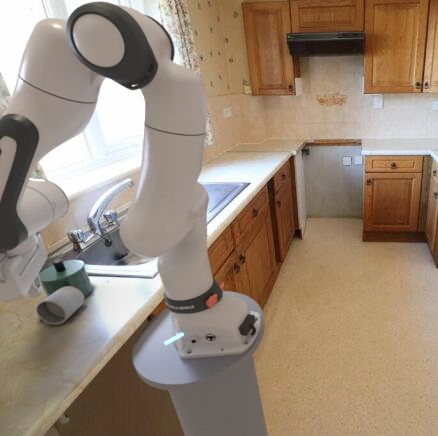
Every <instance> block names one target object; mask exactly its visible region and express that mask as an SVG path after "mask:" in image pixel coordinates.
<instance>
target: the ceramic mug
mask: <svg viewBox="0 0 438 436" xmlns="http://www.w3.org/2000/svg"><path fill="white" fill-rule="evenodd" d="M84 302H85V298H84V295H83V293H82V292H81V291H80V290H79V289H78V288H76V287H73V286H65V287H62V288H60V289H58V290H57V291H55V292H54V293H53V294H51V295H50V296H47V297H46V298H44V299H42V300H41V301H40V302H38V304H37V305H36V308H35V312H36V314H37V317H38V318H39V319H40V320H42V321H43V322H45V323H47V324H50V325H55V326H56V325H62V324H64V323H65V322H66V321H67V320H68V319H69V318H70V317H71V316H73V314H74V313H75V312H76V311H77V310H79V309H80V307H81V306H82V305H83V304H84Z"/></svg>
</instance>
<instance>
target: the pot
mask: <svg viewBox="0 0 438 436" xmlns="http://www.w3.org/2000/svg"><path fill="white" fill-rule="evenodd" d="M41 285H42V287H43V291H44V292H45V294H46V296H47V297H48V296H50V295H51V294H53V293H54V292H55V291H57V290H58V289H60V288H62V287H65V286H73V287H76V288H78V289H79V290H80V291H81V292H82V293H83V295H84V299H85V298H87V297H88V296H89V295H91V293H92V292H93V290H94V288H93V284H92V282H91V279H90V277H89V274H88V273H87V271H86V267H84V268H83V269H82V270H81V271H79V272H78V273H77V274H75V275H73V276H71V277H69V278H66V279H63V280H60V281H56V282H50V283H42V282H41Z"/></svg>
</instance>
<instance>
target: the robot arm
mask: <svg viewBox="0 0 438 436" xmlns="http://www.w3.org/2000/svg"><path fill="white" fill-rule="evenodd" d="M174 60H175V45H174V41H173V39H172V37H171V35H170V32H169V31H168V30H167V29H166V28H165V27H164V25H162V24H161V23H160V22H159V21H158V20H157V19H155V18H154V17H152V16H150V15H148V14H145V13H142V12H140V11H138V10H137V9H135V8H132V7H129V6H127V5H121V4H114V3H112V2H107V1H91V2H86V3H84V4H82V5H79V6H77V7H76V8H74V10H73V11H72V12H71V13H70V15H69V16H68V18H67V19H63V18H55V17H51V18H50V17H47V18H44V19H41V20H39V21H38V22H36V24H35V25H34V27H33V29H32V31H31V33H30V36H29V38H28V40H27V42H26V45H25V48H24V50H23V53H22V55H21V60H20V64H19V68H18V74H17V79H16V83H15V86H14V90H13V92H12V94H11V97H10V100H9V102H8V104H7V106H6V108H5V110H4V112H3V113H2V115H1V117H0V301H1V302H4V303H11V302H14V301H17V300H18V301H19V300H21V299H24V298H25V297H26V296H27V294H28V295H29V297H30V298H31V299H36V298H39V297H41V294H42V292H44V288H43V286H42V284H41V280H40V275H39V273H40V272H41V271H42V270H41V269H42V268H43V266H44V265H45V262H46V261H47V259H48V258H49V257H48V250H47V247H46V245H45V241H44V240H43V237H42V235H41V231H42V230H44V229H46V228H48V227H49V226H50V225H52V224H54V223H55V222H57V221H58V220H60V219H61V218H63V217H64V216H65V215H66V214H67V213H68V212H69V206H70V204H69V198H68V196H67V194H66V192H65V191H64V190H63V189H62V188H61V186H59V185H58V184H56V183H55V182H52V181H51V180H47V179H44V178H37V179H35V178H31V176H32V173H33V171H34V169H35V168H36V166H37V164H38V163H39V162H40V161H41V160H42V159H43V158H44V157H45V156H47V155H48V154H49V153H50V152H52V151H53V150H55V149H56V148H58V147H59V146H61V145H63V144H65V143H66V142H68V141H70V140H72V139H73V138H75V137H78V136H79V135H80V134H82V133H83V132H84V131H85V130H86V128H87V127H88V125H89V124H90V122H91V121H92V119H93V117H94V114H95V112H96V109H97V105H98V100H99V97H100V93H101V90H102V86H103V83H104V81H105V79H108V80H110V81H112V82H114V83H116V84H118V85H120V86H121V87H123V88H126V89H127V90H129V91H137V90H138V91H139V93H140V95H141V97H142V98H141V99H142V103H143V104H142V107H143V109H142V110H143V115H142V148H141V149H142V150H141V152H142V153H141V154H142V155H141V164H140V168H139V172H138V175H137V176H138V177H137V181H136V183H135V186H134V187H135V188H134V191H133V195H132V198H131V202H130V205H129V208H128V210H127V212H126V214H125V216H124V217H123V219H122V221H121V223H120V225H119V238H120V240H121V242H122V244H123V245H124V246H125V248H126V249H127V250H128V251H129V252H131V253H133V254H134V255H137V256H138V257H142V258H146V259H155V258H157V261H156V263H157V264H156V265H157V271H158V274H159V278H160V281H161V284H162V288H163V290H164V291H163V297H164V301H165V305H166V307H167V308H168V309H169V310H170V313H171V318H172V328H173V333H172V338H171V339H169V340H167V341H165V342H164V343H165V345H167V344H169V343H171V342H173V344H174V346H175V347H176V348H177V349H178V351H179V357H180V358H181V359H191V358H202V357H214V356H225V355H237V354H242V353H243V352H245V351H246V350H247V349H248V348H249V347H250V346H251V345H252V343H253V342H254V340H255V339H256V337H257V335H258V332H259V330H260V326H261V317H260V314H259V313H258V312H254V311H250V309H249V307H248V305H247V303H246V302H245V301H243V300H241V299H239V298H237V297H236V296H235V295H231V294H229V293H227V292H225V291H226V290H223V289H224V287H225V281H222V282H221V283H220V284H219V283H218V281H217V280H216V278H214V276H213V272H212V267H211V263H210V258H209V253H208V210H209V209H208V208H209V202H210V196H209V192H208V191H207V189H206V188H205V186H204V185H203V184H201V183H200V182H199V181H198V180H199V177H200V175H201V173H202V170H203V164H204V156H205V145H206V134H207V121H208V119H207V117H208V115H207V112H208V110H207V108H208V107H207V93H206V87H205V83H204V81H203V79H202V77H201V76H200V75H199V74H198V73H196V72H195V71H194V70H193V69H191V68H189V67H187V66H185V65H182V64H177V63H176V62H174ZM189 353H190V354H189Z"/></svg>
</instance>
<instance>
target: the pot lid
mask: <svg viewBox="0 0 438 436" xmlns="http://www.w3.org/2000/svg"><path fill="white" fill-rule="evenodd" d="M51 264H52V265H50V266H48V267H45V268H44V269H43V270H41V271H39V275H40V280H41V282H42V283H50V282H56V281H60V280H63V279H66V278H69V277H71V276H73V275H75V274H77V273H78V272H79V271H81V270H82V269H83V268H85V262H84V261H83V260H81V259H70V260H64V261H63V259H62V258H59V259H56V260H53V261H52V263H51Z"/></svg>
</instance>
